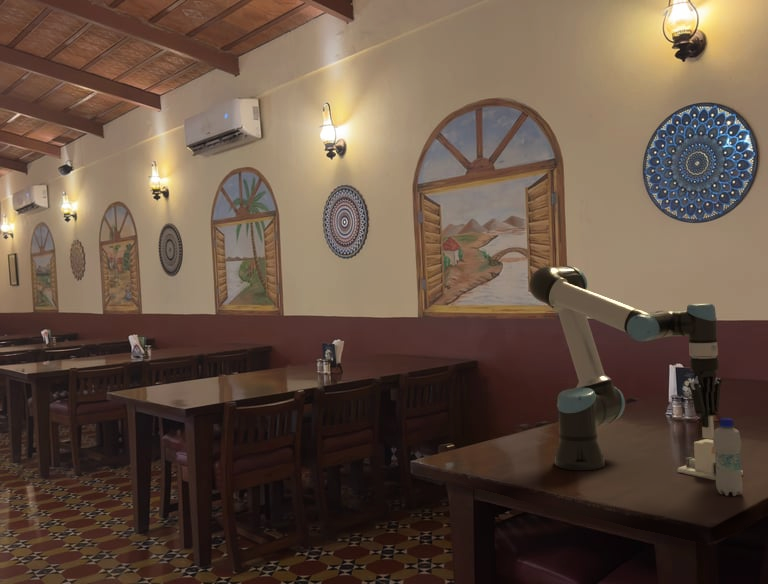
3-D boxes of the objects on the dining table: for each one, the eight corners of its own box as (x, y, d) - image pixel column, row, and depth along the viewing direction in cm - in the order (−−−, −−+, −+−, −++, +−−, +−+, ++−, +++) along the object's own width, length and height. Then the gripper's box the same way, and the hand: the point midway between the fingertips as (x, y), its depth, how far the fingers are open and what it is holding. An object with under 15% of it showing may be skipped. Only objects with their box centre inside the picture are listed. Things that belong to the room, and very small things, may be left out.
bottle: (735, 489, 186) (731, 414, 186) (749, 496, 180) (745, 419, 179) (710, 490, 186) (706, 416, 186) (723, 498, 179) (719, 421, 179)
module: (711, 473, 198) (710, 445, 198) (695, 469, 202) (693, 442, 202) (724, 469, 201) (722, 441, 201) (707, 465, 205) (706, 438, 205)
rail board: (722, 481, 193) (721, 469, 193) (677, 471, 205) (677, 460, 205) (743, 475, 198) (742, 463, 198) (698, 465, 210) (697, 454, 210)
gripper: (702, 359, 195) (706, 443, 195) (729, 355, 201) (733, 436, 202) (678, 358, 201) (683, 439, 201) (705, 353, 208) (709, 432, 208)
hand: (708, 437), depth 201 cm, fingers closed
